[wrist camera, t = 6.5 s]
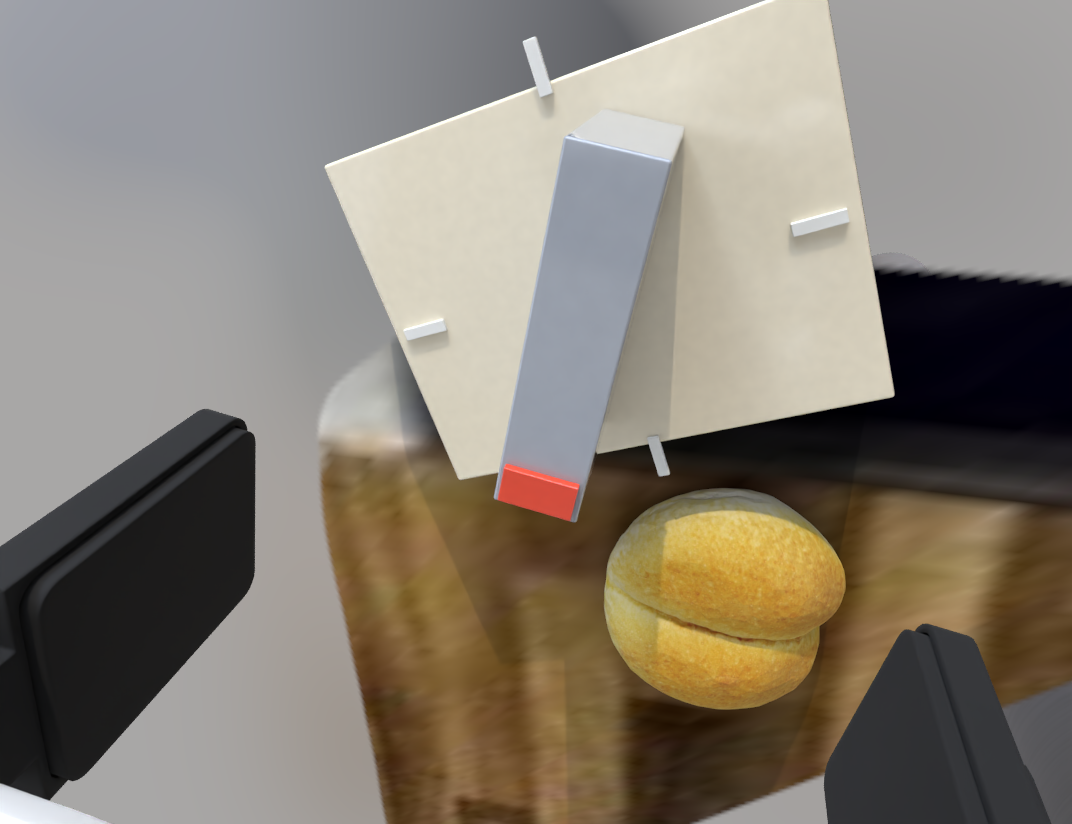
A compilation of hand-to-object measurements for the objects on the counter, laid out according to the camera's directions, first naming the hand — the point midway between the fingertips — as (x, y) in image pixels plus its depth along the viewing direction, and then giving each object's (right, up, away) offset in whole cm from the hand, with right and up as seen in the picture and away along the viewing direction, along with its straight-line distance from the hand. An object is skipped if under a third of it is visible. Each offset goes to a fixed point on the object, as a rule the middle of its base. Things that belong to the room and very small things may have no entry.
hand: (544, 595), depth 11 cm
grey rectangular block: (+2, +6, +11) cm, 13 cm away
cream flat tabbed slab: (+2, +8, +14) cm, 16 cm away
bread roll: (+7, -4, +19) cm, 20 cm away
